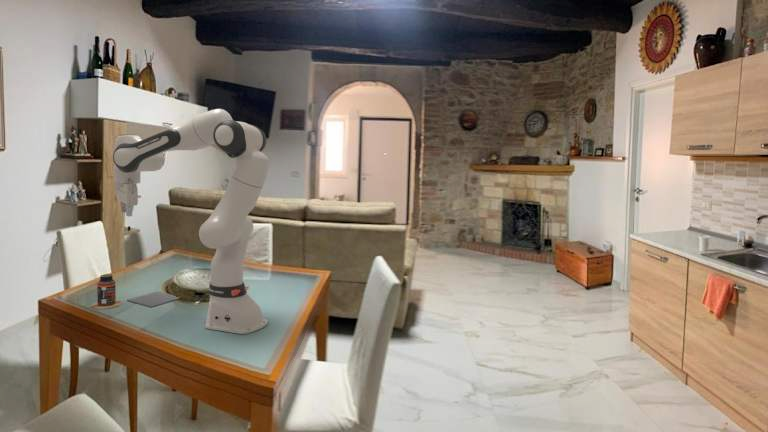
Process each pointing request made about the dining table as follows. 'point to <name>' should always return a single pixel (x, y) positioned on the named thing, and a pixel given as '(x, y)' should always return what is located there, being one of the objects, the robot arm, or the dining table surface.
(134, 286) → the dining table surface
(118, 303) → the cork coaster
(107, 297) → the supplement bottle
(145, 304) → the slate mat
